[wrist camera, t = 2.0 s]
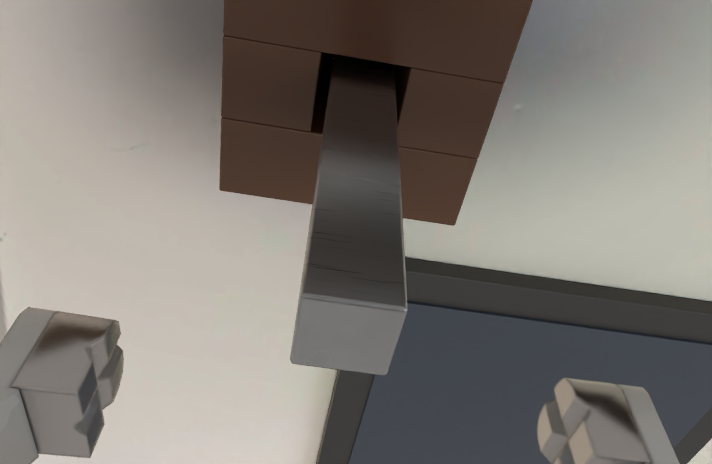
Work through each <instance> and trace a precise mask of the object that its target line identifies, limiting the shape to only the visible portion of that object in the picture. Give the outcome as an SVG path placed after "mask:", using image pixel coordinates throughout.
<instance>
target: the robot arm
mask: <svg viewBox="0 0 712 464" xmlns="http://www.w3.org/2000/svg"><path fill="white" fill-rule="evenodd" d="M120 334H121V332H120V326H119V321H116V320H111V319H105V318H98V317H92V316H85V315H79V314H73V313H66V312H60V311H52V310H45V309H38V308H31V307H28V308H27V309H25V310H24V311H23V312H22V313H20V314H19V316H18V317H17V319H16V320H15V322H14V323H13V325H12V326H11V328H10V329H9V331H8V332H7V334H6V335H5V337H4V339H3V340H2V342H1V343H0V464H31V463H32V462H33V461H34V460H36V459H37V458H38V457H39V455H38V454H49V455H61V456H73V457H85V458H90V457H91V455H92V452H93V450H94V448H95V445H96V443H97V440H98V438H99V436H100V433H101V431H102V428H103V426H104V418H103V411H102V410H103V409H104V408H106V407H107V406H108V405H110V404H111V403H112V402H114V399H115V397H116V394H117V391H118V389H119V385H120V381H121V377H122V373H123V362H124V358H123V350H122V349H121V348H120V347H119V346H118V345H117V341H118V339H119V337H120ZM554 393H555V396H556V398H554V399H553V400H551V401H549V402H547V403H545V404H544V406H543V408H542V410H541V412H540V413H539V417H538V423H537V440H538V445H539V449H540V453H541V454H542V455H543V456H544V457H545V458H546V459H547V461H548V462H549V463H550V464H680V463H679V461H678V459H677V456H676V454H675V452H674V450H673V447H672V445H671V443H670V441H669V438H668V436H667V434H666V432H665V429H664V427H663V425H662V423H661V420H660V418H659V416H658V414H657V411H656V409H655V407H654V405H653V402H652V400H651V398H650V396H649V394H648V392H647V391H646V390H645V389H644V388H643V387H636V386H628V385H620V384H613V383H608V382H599V381H590V380H582V379H573V378H563V379H561V380H559V381H558V383H557V384H556V386H555V388H554Z"/></svg>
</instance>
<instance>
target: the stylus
mask: <svg viewBox="0 0 712 464" xmlns="http://www.w3.org/2000/svg"><path fill="white" fill-rule="evenodd" d="M407 311H408V307H407V289H406V271H405V253H404V234H403V216H402V198H401V180H400V162H399V144H398V125H397V107H396V89H395V71H394V64H389V63H383V62H377V61H371V60H366V59H360V58H354V57H348V56H342V55H336V54H334V59H333V66H332V73H331V79H330V86H329V93H328V100H327V107H326V114H325V121H324V128H323V135H322V142H321V149H320V156H319V163H318V169H317V176H316V183H315V190H314V197H313V204H312V211H311V218H310V225H309V232H308V239H307V246H306V253H305V260H304V266H303V273H302V280H301V287H300V294H299V301H298V308H297V315H296V322H295V329H294V336H293V343H292V350H291V357H290V360H291V363H293V364H298V365H306V366H314V367H322V368H329V369H337V370H345V371H353V372H361V373H369V374H376V375H386V374H387V373H388V370H389V367H390V364H391V361H392V358H393V355H394V351H395V348H396V345H397V342H398V339H399V336H400V333H401V329H402V326H403V323H404V320H405V317H406V314H407Z"/></svg>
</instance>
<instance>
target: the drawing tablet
mask: <svg viewBox="0 0 712 464" xmlns="http://www.w3.org/2000/svg"><path fill="white" fill-rule="evenodd" d="M405 271H406V289H407V307H408V311H407V314H406V317H405V320H404V323H403V326H402V329H401V333H400V336H399V339H398V342H397V345H396V348H395V351H394V355H393V358H392V361H391V364H390V367H389V370H388V373H387V374H386V375H376V374H369V373H361V372H353V371H345V370H338V372H337V376H336V380H335V385H334V389H333V393H332V397H331V402H330V406H329V410H328V415H327V419H326V423H325V427H324V432H323V436H322V440H321V444H320V449H319V453H318V457H317V462H316V464H550V463H549V462H548V461H547V459H546V458H545V457H544V456H543V455H542V454H541V453H540V449H539V445H538V440H537V423H538V417H539V413H540V412H541V410H542V408H543V406H544V404H545V403H547V402H549V401H551V400H553V399H554V398H556V396H555V393H554V388H555V386H556V384H557V383H558V381H559V380H561V379H563V378H573V379H582V380H590V381H599V382H608V383H613V384H620V385H628V386H636V387H643V388H644V389H645V390H646V391H647V392H648V394H649V396H650V398H651V400H652V402H653V405H654V407H655V409H656V411H657V414H658V416H659V418H660V420H661V423H662V425H663V427H664V429H665V432H666V434H667V436H668V438H669V441H670V443H671V445H672V447H673V450H674V452H675V454H676V456H677V459H678V461H679V463H680V464H687V463H688V462H689V461H690V460H691V459H692V458H693V457H694V456H695V455H696V454H697V453H698V452H699V451H700V450H701V449H702V448H703V447H704V446H705V445H706V444H707V443H708V441H709V440H710V439H711V438H712V302H706V301H699V300H692V299H685V298H678V297H672V296H665V295H658V294H651V293H644V292H637V291H630V290H623V289H616V288H609V287H602V286H596V285H589V284H582V283H575V282H568V281H561V280H554V279H547V278H540V277H533V276H527V275H520V274H513V273H506V272H499V271H492V270H485V269H478V268H471V267H464V266H457V265H451V264H444V263H437V262H430V261H423V260H416V259H409V258H405Z"/></svg>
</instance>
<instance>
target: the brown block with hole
mask: <svg viewBox="0 0 712 464" xmlns="http://www.w3.org/2000/svg"><path fill="white" fill-rule="evenodd" d="M532 2H533V0H224V28H223V34H224V36H223V67H222V105H221V116H222V118H221V148H220V186H219V188H220V190H221V191H227V192H234V193H241V194H247V195H254V196H260V197H267V198H274V199H280V200H287V201H294V202H300V203H307V204H313V197H314V190H315V183H316V176H317V169H318V163H319V156H320V149H321V142H322V135H323V128H324V121H325V114H326V107H327V100H328V93H329V86H330V79H331V73H329V72H323V71H322V64H323V57H324V52H325V53H331V54H336V55H342V56H348V57H354V58H360V59H366V60H371V61H377V62H383V63H389V64H394V71H395V89H396V107H397V125H398V144H399V162H400V180H401V198H402V216H403V218H407V219H413V220H420V221H427V222H433V223H440V224H447V225H455V223H456V220H457V217H458V214H459V211H460V209H461V206H462V203H463V200H464V197H465V194H466V191H467V188H468V185H469V183H470V180H471V177H472V174H473V171H474V168H475V165H476V162H477V158H478V157H479V154H480V151H481V149H482V146H483V143H484V140H485V137H486V134H487V131H488V128H489V125H490V123H491V120H492V117H493V114H494V111H495V108H496V105H497V102H498V100H499V97H500V94H501V91H502V88H503V85H504V84H503V83H504V82H505V79H506V76H507V74H508V71H509V68H510V65H511V62H512V59H513V56H514V53H515V51H516V48H517V45H518V42H519V39H520V36H521V33H522V30H523V27H524V25H525V22H526V19H527V16H528V13H529V10H530V7H531V4H532Z"/></svg>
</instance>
